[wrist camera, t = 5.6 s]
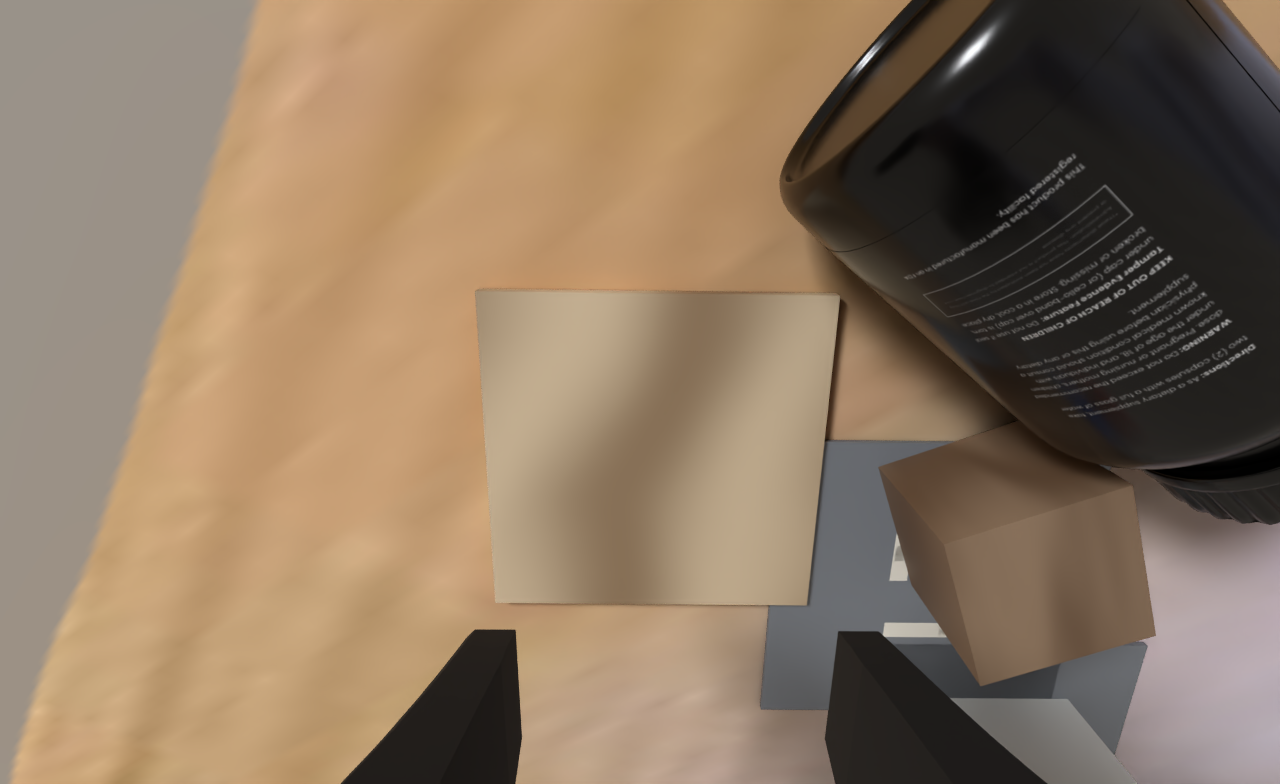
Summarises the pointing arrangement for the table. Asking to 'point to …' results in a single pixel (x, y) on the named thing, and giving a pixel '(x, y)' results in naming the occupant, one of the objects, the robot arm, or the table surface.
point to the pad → (654, 443)
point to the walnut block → (1020, 551)
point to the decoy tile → (1070, 684)
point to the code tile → (857, 587)
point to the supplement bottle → (1075, 223)
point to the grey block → (1048, 739)
